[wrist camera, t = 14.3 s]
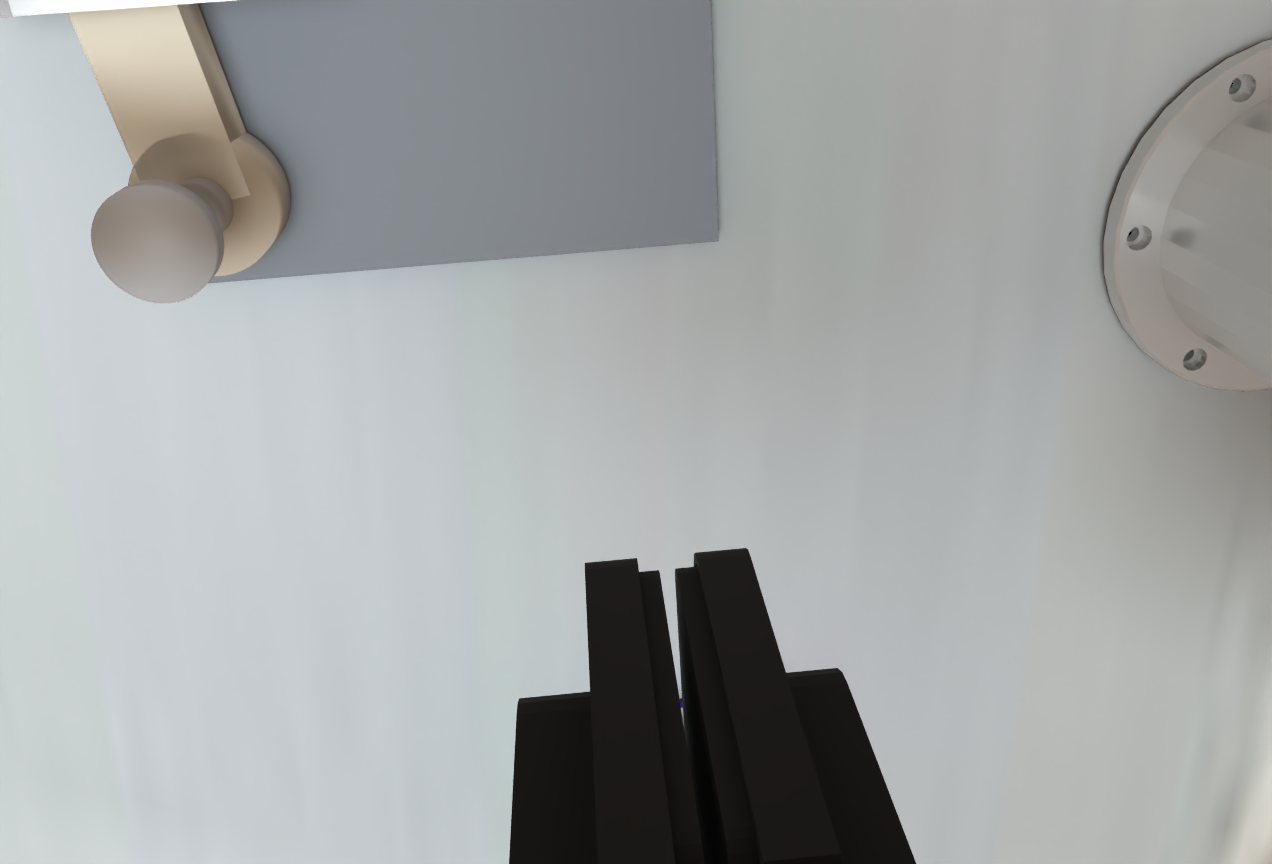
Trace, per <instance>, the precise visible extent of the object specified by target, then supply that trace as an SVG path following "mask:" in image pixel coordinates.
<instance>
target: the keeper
mask: <svg viewBox="0 0 1272 864" xmlns="http://www.w3.org/2000/svg"><path fill="white" fill-rule="evenodd" d="M217 1H230V0H0V18H1V17H15V16H28V15H42V14H55V13H68V12H82V11H95V10H109V9H122V8H136V7H149V6H163V5H176V4H190V3H203V2H217Z"/></svg>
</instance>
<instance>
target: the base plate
mask: <svg viewBox="0 0 1272 864" xmlns="http://www.w3.org/2000/svg"><path fill="white" fill-rule="evenodd" d="M197 4H198V6H199V9H200V12H201V14H202V17H203V20H204V22H205V25H206V28H207V30H208V33H209V35H210V38H211V41H212V43H213V46H214V49H215V51H216V54H217V57H218V59H219V62H220V65H221V67H222V70H223V72H224V75H225V78H226V80H227V83H228V86H229V88H230V91H231V94H232V96H233V99H234V102H235V104H236V107H237V109H238V112H239V115H240V117H241V120H242V123H243V125H244V128H245V131H246V132H247V133H249V134H250V135H252V136H253V137H255V138H257V139H258V140H259V141H260V142H261V143H263V144H264V145H265V146H266V147H267V148H268V149H269V150H270V151H271V152H272V154H273V155H274V156H275V158H276V159H277V160H278V162H279V164H280V165H281V167H282V169H283V171H284V173H285V176H286V178H287V182H288V185H289V190H290V202H291V204H290V213H289V217H288V221H287V223H286V226H285V228H284V230H283V231H282V233H281V235H280V236H279V237H278V239H277V240H276V241H275V242H274V243H273V244H272V246H271V247H270V248H269V249H268V250H267V251H266V252H265V254H264V255H263V256H262V257H261V258H260V259H259V260H258V261H257V262H255V263H254V264H253V265H251V266H250V267H248V268H246V269H244V270H242V271H240V272H237V273H234V274H230V275H225V276H214V277H213V278H212V279H211V280H210V281H209V282H208V283H217V282H230V281H242V280H254V279H266V278H278V277H290V276H302V275H314V274H327V273H339V272H351V271H363V270H375V269H387V268H399V267H411V266H423V265H436V264H448V263H460V262H472V261H484V260H496V259H508V258H520V257H533V256H545V255H557V254H569V253H581V252H593V251H605V250H617V249H629V248H642V247H654V246H666V245H678V244H690V243H702V242H714V241H719V238H718V207H717V176H716V145H715V114H714V83H713V52H712V21H711V0H230V1H217V2H203V3H197Z"/></svg>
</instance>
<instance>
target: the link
mask: <svg viewBox="0 0 1272 864" xmlns="http://www.w3.org/2000/svg"><path fill="white" fill-rule="evenodd" d="M68 15H69V17H70V20H71V22H72V24H73V27H74V29H75V31H76V34H77V36H78V38H79V41H80V43H81V45H82V48H83V50H84V52H85V54H86V57H87V59H88V61H89V64H90V66H91V68H92V71H93V73H94V75H95V78H96V80H97V82H98V85H99V87H100V89H101V92H102V94H103V96H104V99H105V101H106V103H107V106H108V108H109V110H110V113H111V115H112V117H113V120H114V122H115V124H116V126H117V129H118V131H119V133H120V136H121V138H122V140H123V143H124V145H125V147H126V150H127V152H128V154H129V157H130V159H131V161H132V164H133V166H134V167H133V169H132V172H131V175H130V178H129V183H128V186H126V187H125V188H123V189H121V190H120V191H118V192H116V193H115V194H113V195H112V196H110V197H109V198H108V199H107V200H106V201H105V202H104V203H103V204H102V205H101V206H100V208H99V209H98V211H97V213H96V215H95V217H94V220H93V223H92V229H91V241H92V247H93V251H94V254H95V257H96V259H97V261H98V263H99V265H100V267H101V268H102V270H103V271H104V273H105V274H106V275H107V276H108V278H109V279H110V280H111V281H112V282H113V283H114V284H115V285H117V286H118V287H119V288H121V289H122V290H123V291H125V292H127V293H128V294H130V295H132V296H134V297H136V298H139V299H142V300H145V301H148V302H154V303H174V302H179V301H182V300H185V299H188V298H190V297H192V296H193V295H195V294H196V293H198V292H199V291H200V290H201V289H202V288H203V287H204V286H205V285H206V284H207V283H208V282H209V281H210V280H211V279H212V278H213V277H214V276H225V275H230V274H234V273H237V272H240V271H242V270H244V269H246V268H248V267H250V266H251V265H253V264H254V263H255V262H257V261H258V260H259V259H260V258H261V257H262V256H263V255H264V254H265V252H266V251H267V250H268V249H269V248H270V247H271V246H272V244H273V243H274V242H275V241H276V240H277V239H278V237H279V236H280V235H281V233H282V231H283V230H284V228H285V226H286V223H287V221H288V217H289V213H290V204H291V202H290V190H289V185H288V182H287V178H286V176H285V173H284V171H283V169H282V167H281V165H280V164H279V162H278V160H277V159H276V158H275V156H274V155H273V154H272V152H271V151H270V150H269V149H268V148H267V147H266V146H265V145H264V144H263V143H261V142H260V141H259V140H258V139H257V138H255V137H253V136H252V135H250V134H249V133H247V132H246V131H245V128H244V125H243V123H242V120H241V117H240V115H239V112H238V109H237V107H236V104H235V102H234V99H233V96H232V94H231V91H230V88H229V86H228V83H227V80H226V78H225V75H224V72H223V70H222V67H221V65H220V62H219V59H218V57H217V54H216V51H215V49H214V46H213V43H212V41H211V38H210V35H209V33H208V30H207V28H206V25H205V22H204V20H203V17H202V14H201V12H200V9H199V6H198V4H197V3H190V4H176V5H163V6H149V7H136V8H122V9H109V10H95V11H82V12H68Z"/></svg>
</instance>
